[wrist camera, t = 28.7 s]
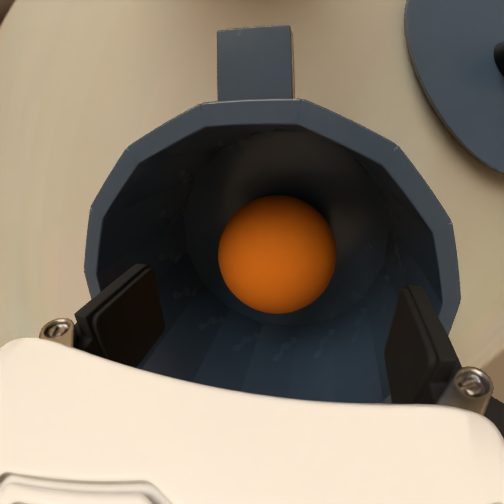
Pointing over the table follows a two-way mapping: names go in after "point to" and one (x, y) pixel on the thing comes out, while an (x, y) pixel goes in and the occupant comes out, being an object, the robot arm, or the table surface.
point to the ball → (277, 254)
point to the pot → (260, 185)
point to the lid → (462, 69)
